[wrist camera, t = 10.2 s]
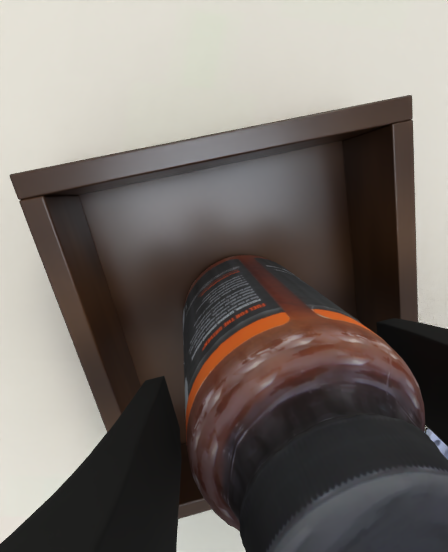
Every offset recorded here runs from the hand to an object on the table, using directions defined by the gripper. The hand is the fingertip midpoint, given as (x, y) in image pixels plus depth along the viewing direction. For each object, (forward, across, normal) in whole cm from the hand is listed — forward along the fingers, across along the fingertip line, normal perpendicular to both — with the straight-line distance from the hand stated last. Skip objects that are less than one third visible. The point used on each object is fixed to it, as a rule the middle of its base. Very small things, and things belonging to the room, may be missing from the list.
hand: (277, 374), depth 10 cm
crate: (+6, 0, 0) cm, 6 cm away
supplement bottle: (+6, 0, 0) cm, 6 cm away
